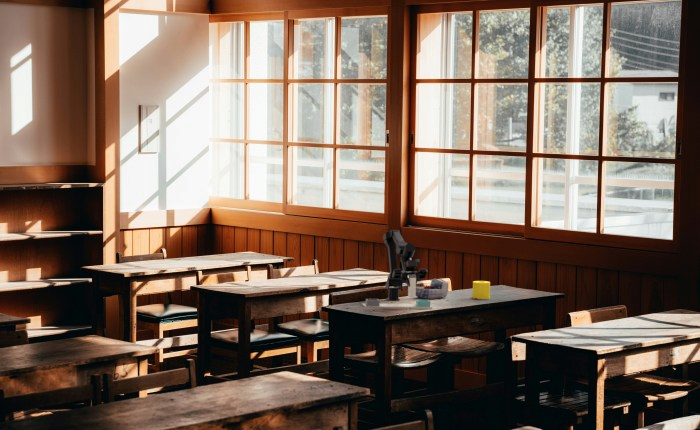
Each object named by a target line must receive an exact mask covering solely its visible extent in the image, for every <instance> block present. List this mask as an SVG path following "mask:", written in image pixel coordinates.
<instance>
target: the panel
mask: <svg viewBox="0 0 700 430" xmlns="http://www.w3.org/2000/svg"><path fill="white" fill-rule="evenodd" d="M362 305H363V307H365V308H366V307H369V308H371V307H372V308H373V307H374V308H375V307H376V308H377V307H378V308H380V307H381V308H387V307H389V308H406V310H415V309H416V310H419V309H420V310H432V309H433V306H432V305H431V301H430V299H416V300H415V303H381V302H380V299H379V298H365V303H363V302H362Z"/></svg>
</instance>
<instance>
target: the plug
mask: <svg viewBox="0 0 700 430" xmlns="http://www.w3.org/2000/svg"><path fill="white" fill-rule="evenodd" d="M408 279H409V282H410V287H409V286H408V285H407V296H408V298H417V297H416V287H417V286H416V275H414V274H409V276H408Z"/></svg>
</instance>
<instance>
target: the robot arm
mask: <svg viewBox="0 0 700 430" xmlns="http://www.w3.org/2000/svg"><path fill="white" fill-rule="evenodd" d="M382 240H383V241H384V245H385V247H386V248H387V252H388V253H387V254H388V263H389V273H388V276H387V279H386V282H385V285H384V287H385V289H387V290H388V297H387V300H388V301H400V298H399V296H400V295H399V292H400V290H403V285H404V283H405V284H406V285H407V287H408V286H409V287H410V282H409V274H414V275H416V287H418V285H417V284H418V280H421V279H422V280H423V279H426V276H427V274H428V269H427V268H419V269H418V271H416V269H417V267H419V266H420V259H419V258H417V259H412V258H413V257H414V254H415V251H416V246H415V245H414V244H412V243H411V242H406V241H405V240H404V238H403V236H402V235H401V231H400V230H398V229H391V230H390V231H386V232H385V233H384V234H383V236H382ZM397 255H398V256H400V263H401V266H402V268H398V267H399V266H398V256H397Z"/></svg>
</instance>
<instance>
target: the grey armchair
mask: <svg viewBox="0 0 700 430" xmlns="http://www.w3.org/2000/svg"><path fill="white" fill-rule="evenodd" d="M448 292H449V282H447V281H443V280H441V279H437V278H433V279H432V280H431V281H430V285H424V286H416V297H415V298H419V299H421V298H422V299H421V300H434V299H442V298H443V297H444V298H445V297H447V296H448Z"/></svg>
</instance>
